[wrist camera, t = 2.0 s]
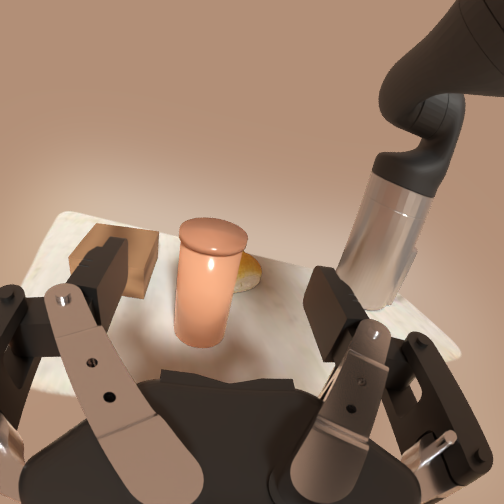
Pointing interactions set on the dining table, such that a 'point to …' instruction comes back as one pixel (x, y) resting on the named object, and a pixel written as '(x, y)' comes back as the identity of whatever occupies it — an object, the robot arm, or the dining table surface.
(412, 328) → the dining table surface
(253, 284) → the bread roll
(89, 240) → the plinth
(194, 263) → the jar
